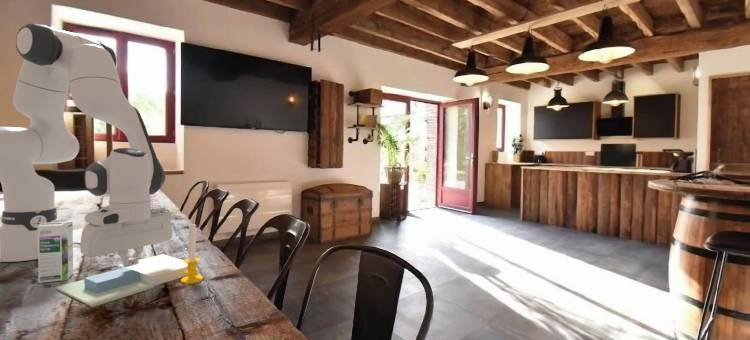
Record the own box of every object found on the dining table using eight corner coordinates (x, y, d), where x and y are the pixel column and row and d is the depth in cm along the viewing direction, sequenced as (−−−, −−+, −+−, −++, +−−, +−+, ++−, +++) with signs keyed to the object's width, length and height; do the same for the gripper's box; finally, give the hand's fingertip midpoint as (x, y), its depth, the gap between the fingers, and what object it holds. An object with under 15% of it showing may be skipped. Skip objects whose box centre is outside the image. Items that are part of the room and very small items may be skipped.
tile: (84, 288, 85) (84, 277, 84) (125, 276, 92) (125, 267, 92) (97, 293, 82) (97, 283, 82) (138, 281, 90) (138, 271, 89)
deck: (118, 273, 96) (118, 264, 95) (162, 262, 106) (162, 254, 106) (151, 286, 88) (151, 276, 88) (196, 272, 98) (196, 263, 98)
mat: (55, 288, 85) (55, 286, 85) (116, 273, 96) (116, 271, 96) (92, 307, 76) (92, 304, 76) (154, 287, 87) (154, 285, 87)
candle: (203, 275, 96) (203, 219, 96) (202, 282, 92) (203, 223, 91) (181, 278, 94) (181, 220, 93) (180, 285, 90) (180, 224, 89)
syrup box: (37, 284, 87) (36, 226, 86) (46, 276, 92) (45, 221, 92) (67, 280, 90) (66, 224, 89) (74, 273, 95) (73, 220, 94)
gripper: (164, 205, 101) (164, 253, 101) (76, 216, 83) (77, 274, 84) (177, 208, 98) (177, 257, 98) (89, 220, 80) (90, 279, 81)
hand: (130, 265), depth 91 cm, fingers closed
